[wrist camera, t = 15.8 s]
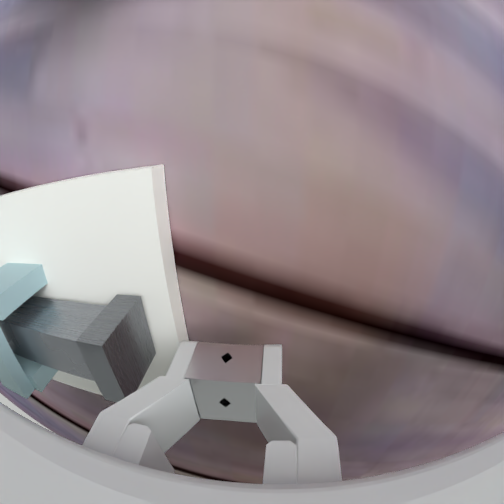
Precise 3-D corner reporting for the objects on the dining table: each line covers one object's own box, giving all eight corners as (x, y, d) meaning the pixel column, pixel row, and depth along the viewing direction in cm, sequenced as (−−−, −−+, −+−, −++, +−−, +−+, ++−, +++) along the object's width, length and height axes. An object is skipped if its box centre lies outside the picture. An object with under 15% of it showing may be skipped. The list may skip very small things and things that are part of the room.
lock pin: (140, 295, 9) (101, 346, 7) (156, 352, 10) (129, 405, 8) (10, 283, 10) (-26, 310, 7) (28, 327, 11) (-3, 357, 8)
